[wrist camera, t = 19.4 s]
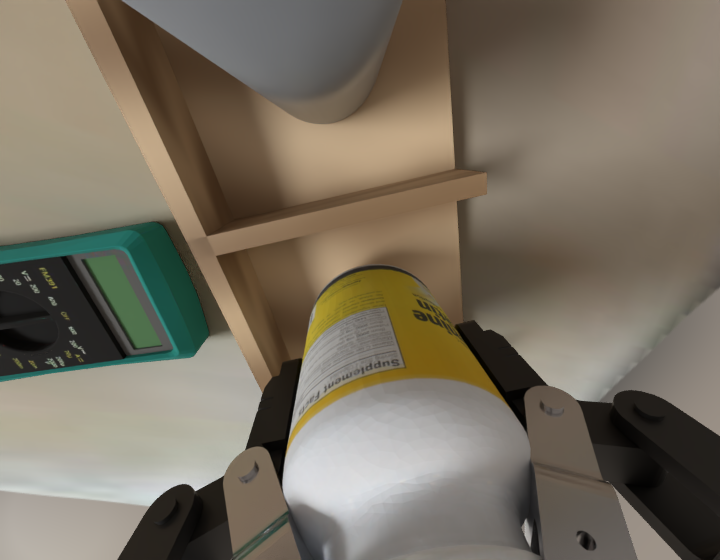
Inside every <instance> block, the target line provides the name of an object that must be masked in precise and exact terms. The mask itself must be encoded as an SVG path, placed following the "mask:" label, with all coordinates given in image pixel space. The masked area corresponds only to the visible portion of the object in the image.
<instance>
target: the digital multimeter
mask: <svg viewBox="0 0 720 560" xmlns="http://www.w3.org/2000/svg"><path fill="white" fill-rule="evenodd" d="M59 256H60V257H59ZM51 257H53V258H51ZM44 258H45V259H44ZM36 259H38V260H36ZM29 260H30V261H29ZM21 261H23V262H21ZM14 262H15V263H14ZM6 263H8V264H6ZM208 336H209V331H208V327H207V324H206V321H205V317H204V314H203V311H202V308H201V305H200V302H199V299H198V296H197V293H196V291H195V289H194V286H193V284H192V281H191V279H190V277H189V274H188V272H187V270H186V268H185V266H184V264H183V262H182V260H181V258H180V256H179V254H178V252H177V250H176V248H175V247H174V245H173V243H172V241H171V239H170V237H169V235H168V234H167V232H166V230H165V229H164V227H163V226H162V225H160V224H158V223H156V222H148V223H142V224H137V225H131V226H126V227H120V228H114V229H109V230H103V231H98V232H92V233H87V234H81V235H75V236H69V237H62V238H56V239H49V240H42V241H35V242H28V243H21V244H14V245H7V246H0V382H3V381H9V380H15V379H21V378H27V377H32V376H38V375H44V374H50V373H58V372H65V371H73V370H80V369H88V368H96V367H103V366H111V365H120V364H130V363H141V362H151V361H161V360H172V359H182V358H190V357H193V356H194V355H195V354H196V353H197V351H198V350H199V348H200V347H201V346H202V344H203V343H204V342H205V340H206V339H207V337H208ZM51 350H52V351H51ZM38 354H39V355H38Z"/></svg>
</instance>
